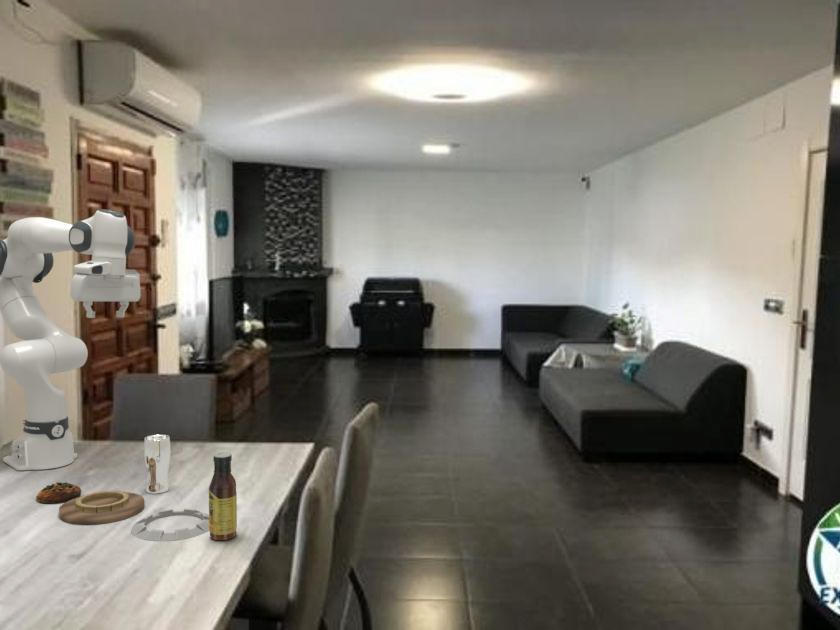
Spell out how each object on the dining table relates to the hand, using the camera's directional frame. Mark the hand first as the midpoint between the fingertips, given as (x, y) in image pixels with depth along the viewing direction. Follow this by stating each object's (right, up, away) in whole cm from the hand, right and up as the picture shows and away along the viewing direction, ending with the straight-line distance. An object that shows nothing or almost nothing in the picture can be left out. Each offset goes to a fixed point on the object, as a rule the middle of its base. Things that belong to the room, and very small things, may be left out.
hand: (105, 317), depth 200 cm
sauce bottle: (+42, -52, -33) cm, 74 cm away
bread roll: (-9, -49, -9) cm, 50 cm away
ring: (+28, -51, -27) cm, 64 cm away
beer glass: (+15, -48, -2) cm, 51 cm away
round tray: (+7, -49, -18) cm, 53 cm away
